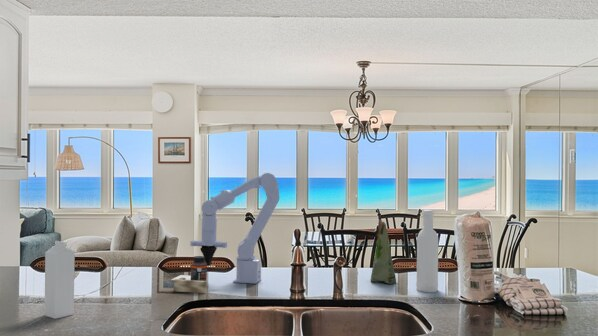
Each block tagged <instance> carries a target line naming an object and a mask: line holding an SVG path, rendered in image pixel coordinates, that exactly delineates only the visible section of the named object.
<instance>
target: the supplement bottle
mask: <svg viewBox="0 0 598 336" xmlns="http://www.w3.org/2000/svg"><path fill="white" fill-rule="evenodd" d="M190 264H191V265H190V276H191V280H198V281H207V282H208V280H207V279H208V266H207V263H206V262H205V257H204V256H203V255H195V256H193V262H192V263H190Z"/></svg>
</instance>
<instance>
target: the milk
mask: <svg viewBox="0 0 598 336" xmlns="http://www.w3.org/2000/svg"><path fill="white" fill-rule="evenodd" d="M66 246H67V245H66V241H60V240H55V241H54V245H53V246H52V247H50V248H49V249H47V250H46V251H45V252H44V255H45V257H44V302H43V303H44V304H43V305H44V309H43V310H44V312H43V313H44V316H46V317H48V318H52V319H55V320H56V319H60V318H64V317H69V316H73V315H74V313H75V312H74V311H75V310H74V308H75V306H74V304H75V256H76V255H75V253H76V252H75V251H74V250H71V249H69V248H68V247H66Z"/></svg>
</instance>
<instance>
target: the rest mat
mask: <svg viewBox="0 0 598 336" xmlns="http://www.w3.org/2000/svg"><path fill="white" fill-rule="evenodd" d="M180 278H185V280H191V275H189V274H188V275H186V274H185V275H184V274H180V275H178V276H176V277H173V278H172V279H170V281H173V282H174V280H175V279H180Z"/></svg>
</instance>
